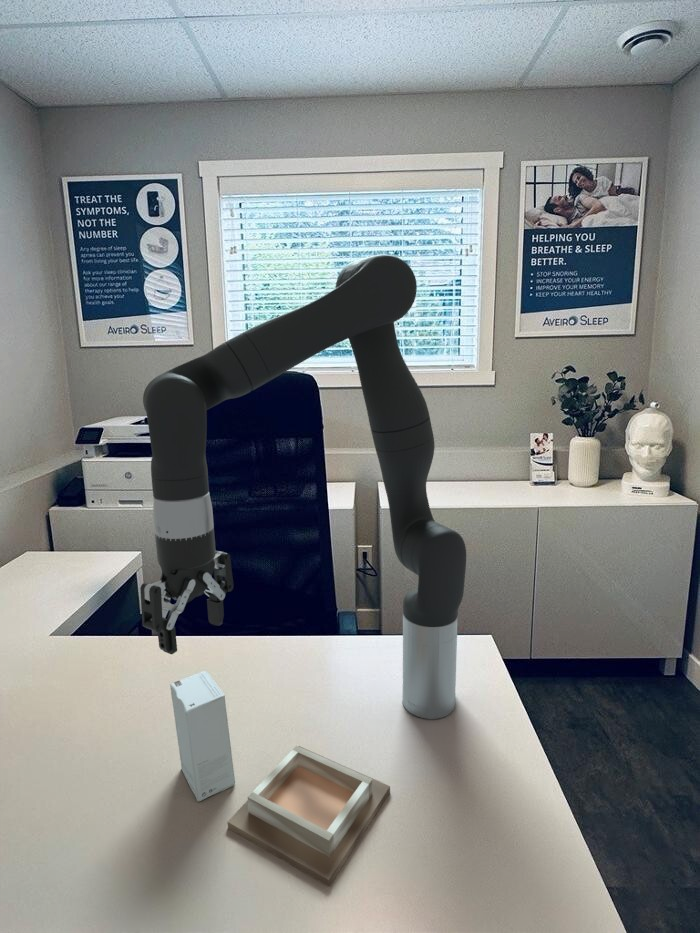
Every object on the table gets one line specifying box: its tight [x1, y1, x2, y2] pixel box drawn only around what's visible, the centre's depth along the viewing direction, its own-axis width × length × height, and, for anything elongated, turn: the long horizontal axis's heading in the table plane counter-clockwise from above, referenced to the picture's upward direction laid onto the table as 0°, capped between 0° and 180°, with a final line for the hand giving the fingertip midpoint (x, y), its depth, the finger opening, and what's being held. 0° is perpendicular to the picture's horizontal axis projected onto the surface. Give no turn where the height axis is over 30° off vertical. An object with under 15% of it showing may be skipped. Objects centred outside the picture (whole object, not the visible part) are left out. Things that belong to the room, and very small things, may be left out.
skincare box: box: [169, 670, 236, 802], centre depth 80 cm, size 8×6×15 cm
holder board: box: [227, 745, 391, 887], centre depth 75 cm, size 16×16×4 cm
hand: (194, 637), depth 76 cm, fingers open, 8 cm apart
